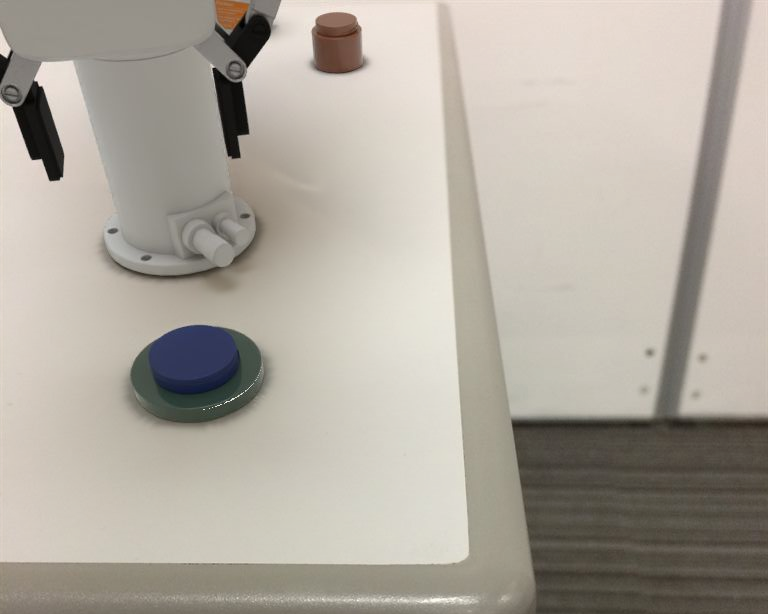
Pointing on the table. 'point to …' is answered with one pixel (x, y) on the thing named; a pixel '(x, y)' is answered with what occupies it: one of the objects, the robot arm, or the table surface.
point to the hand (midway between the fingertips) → (146, 158)
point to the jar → (337, 42)
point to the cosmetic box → (230, 12)
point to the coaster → (193, 404)
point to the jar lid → (193, 359)
